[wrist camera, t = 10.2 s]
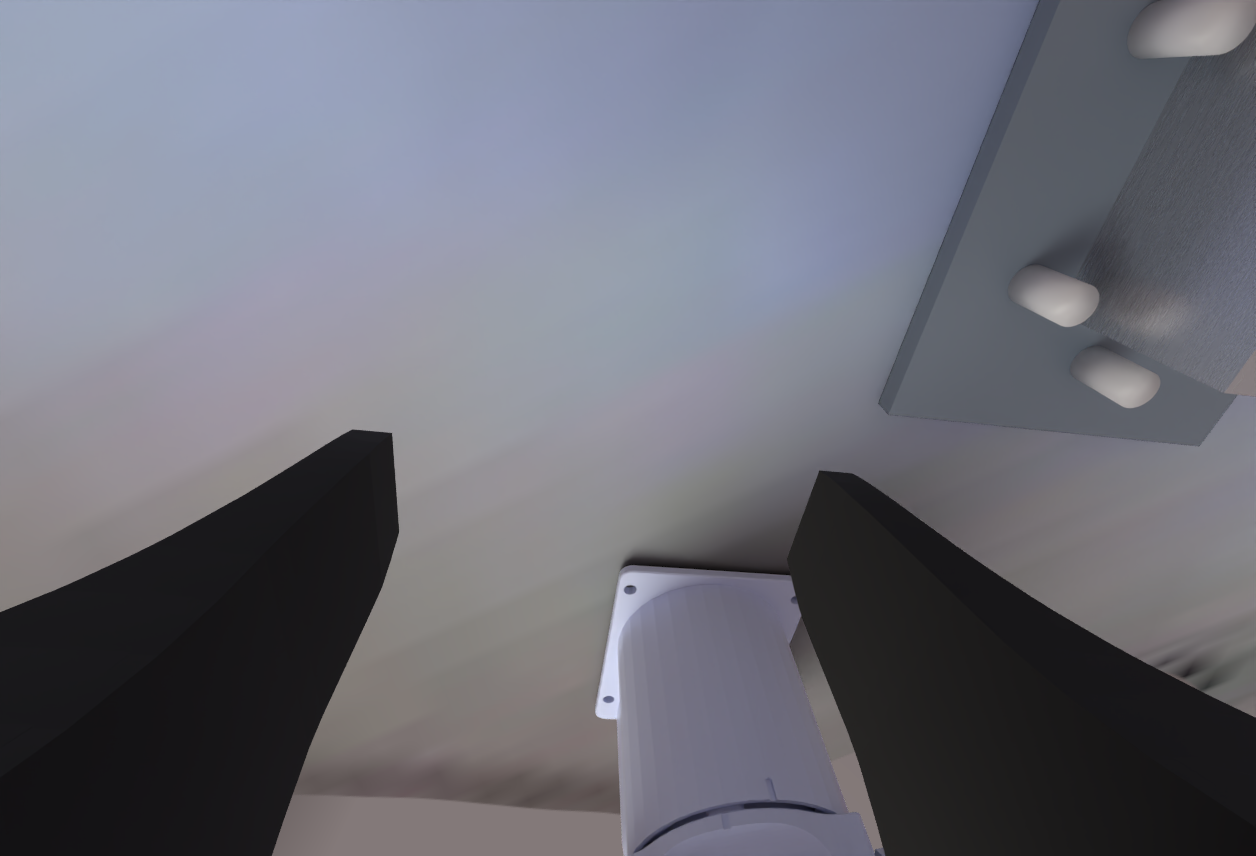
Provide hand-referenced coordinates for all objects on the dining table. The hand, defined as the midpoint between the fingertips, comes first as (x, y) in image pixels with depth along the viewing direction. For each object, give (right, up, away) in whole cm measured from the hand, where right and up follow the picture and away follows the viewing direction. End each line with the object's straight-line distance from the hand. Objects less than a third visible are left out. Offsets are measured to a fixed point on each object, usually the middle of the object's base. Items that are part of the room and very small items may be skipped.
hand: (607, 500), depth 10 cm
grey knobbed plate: (+16, +8, +7) cm, 20 cm away
